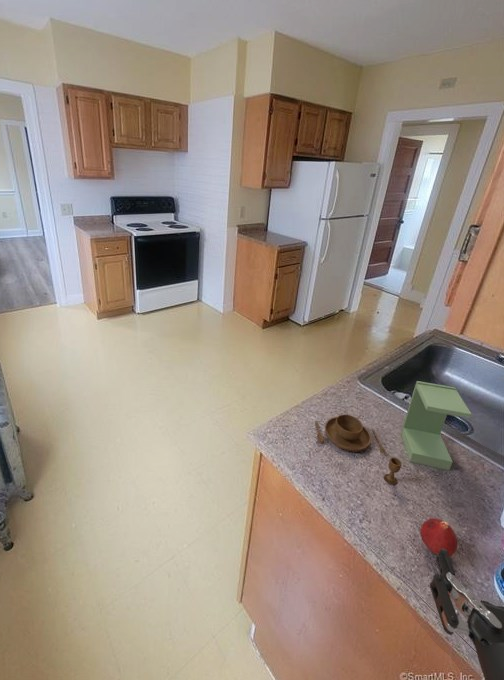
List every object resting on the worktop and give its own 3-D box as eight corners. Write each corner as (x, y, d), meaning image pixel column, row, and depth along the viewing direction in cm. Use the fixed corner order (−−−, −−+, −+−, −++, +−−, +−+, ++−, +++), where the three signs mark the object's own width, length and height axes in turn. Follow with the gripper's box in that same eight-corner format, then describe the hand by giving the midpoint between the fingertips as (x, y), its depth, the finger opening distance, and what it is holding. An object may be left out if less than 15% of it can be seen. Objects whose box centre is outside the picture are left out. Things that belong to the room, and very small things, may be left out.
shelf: (449, 470, 80) (472, 413, 73) (409, 461, 82) (428, 405, 76) (436, 440, 89) (455, 387, 82) (400, 433, 91) (416, 380, 84)
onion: (413, 550, 63) (424, 523, 60) (419, 527, 67) (430, 501, 64) (448, 573, 59) (462, 545, 56) (452, 548, 63) (465, 520, 60)
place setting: (372, 424, 94) (376, 408, 92) (401, 485, 76) (407, 467, 74) (311, 418, 96) (314, 402, 93) (325, 477, 77) (329, 459, 75)
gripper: (634, 732, 33) (536, 560, 47) (472, 674, 36) (428, 531, 51) (600, 761, 35) (517, 590, 50) (453, 705, 39) (416, 560, 53)
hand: (472, 560), depth 50 cm, fingers open, 8 cm apart
